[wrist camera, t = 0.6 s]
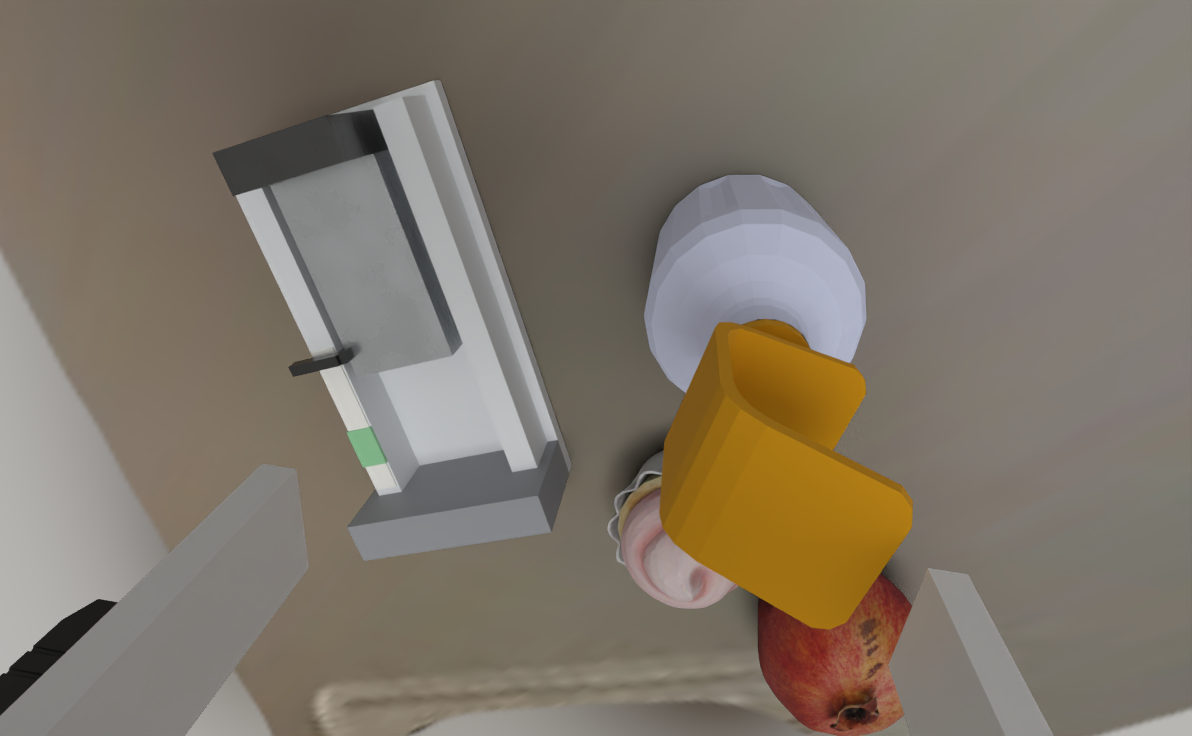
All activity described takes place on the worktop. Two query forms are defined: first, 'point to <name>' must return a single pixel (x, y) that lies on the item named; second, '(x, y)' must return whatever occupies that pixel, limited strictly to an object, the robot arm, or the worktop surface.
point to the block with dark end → (352, 239)
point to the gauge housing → (436, 364)
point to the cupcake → (659, 547)
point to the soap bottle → (767, 400)
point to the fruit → (837, 663)
